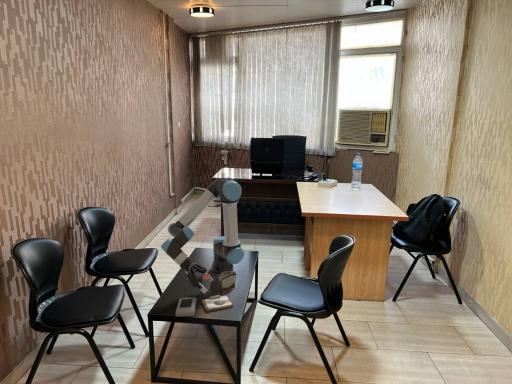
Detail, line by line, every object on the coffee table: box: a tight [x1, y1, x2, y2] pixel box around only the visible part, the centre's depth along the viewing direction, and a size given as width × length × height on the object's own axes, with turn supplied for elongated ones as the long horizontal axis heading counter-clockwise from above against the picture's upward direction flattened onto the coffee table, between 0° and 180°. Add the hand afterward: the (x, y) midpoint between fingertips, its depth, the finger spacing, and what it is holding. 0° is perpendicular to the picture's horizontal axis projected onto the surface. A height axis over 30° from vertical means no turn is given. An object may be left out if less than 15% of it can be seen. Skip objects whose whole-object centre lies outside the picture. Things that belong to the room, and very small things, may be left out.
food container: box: [218, 270, 238, 294], centre depth 220 cm, size 12×6×10 cm, turn 134°
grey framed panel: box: [175, 297, 198, 317], centre depth 198 cm, size 10×4×15 cm
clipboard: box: [201, 294, 234, 313], centre depth 203 cm, size 12×15×2 cm
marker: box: [201, 272, 211, 298], centre depth 212 cm, size 5×5×13 cm
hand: (209, 286), depth 211 cm, fingers open, 13 cm apart
